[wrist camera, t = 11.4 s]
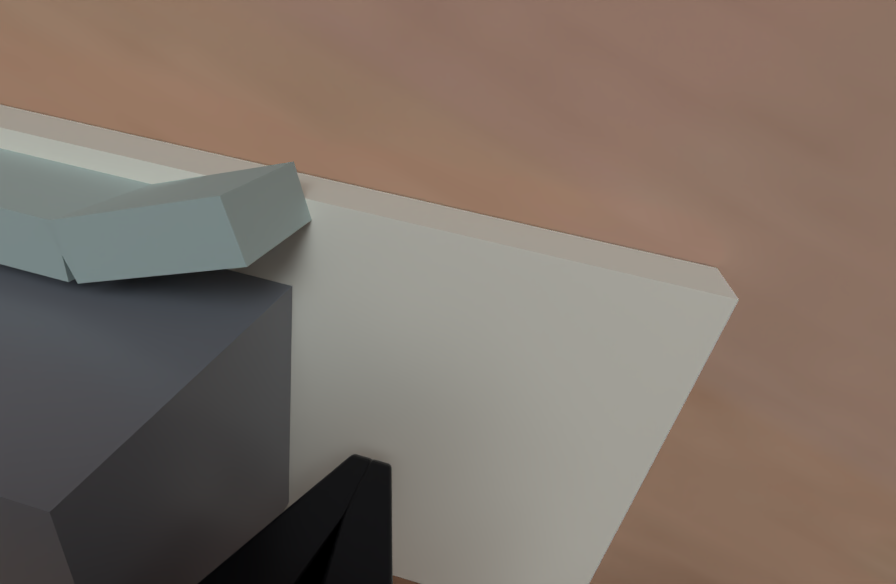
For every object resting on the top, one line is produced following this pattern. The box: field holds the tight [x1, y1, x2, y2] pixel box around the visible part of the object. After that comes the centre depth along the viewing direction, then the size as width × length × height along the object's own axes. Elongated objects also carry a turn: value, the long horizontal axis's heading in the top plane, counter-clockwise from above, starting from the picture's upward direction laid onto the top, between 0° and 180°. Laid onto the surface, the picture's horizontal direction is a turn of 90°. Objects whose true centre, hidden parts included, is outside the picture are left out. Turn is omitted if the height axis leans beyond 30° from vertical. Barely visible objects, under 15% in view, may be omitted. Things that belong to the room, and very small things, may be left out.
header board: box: [0, 105, 739, 584], centre depth 10 cm, size 18×11×4 cm, turn 81°
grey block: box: [0, 264, 292, 584], centre depth 9 cm, size 6×6×5 cm
